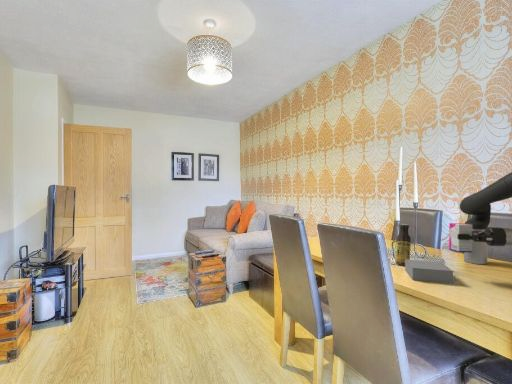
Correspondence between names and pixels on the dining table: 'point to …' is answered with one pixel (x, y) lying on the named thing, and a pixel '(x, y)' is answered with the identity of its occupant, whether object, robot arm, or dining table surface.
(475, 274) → the dining table surface
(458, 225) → the supplement box
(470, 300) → the dining table surface
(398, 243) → the sauce bottle
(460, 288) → the dining table surface
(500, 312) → the dining table surface
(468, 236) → the robot arm
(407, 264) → the podium
